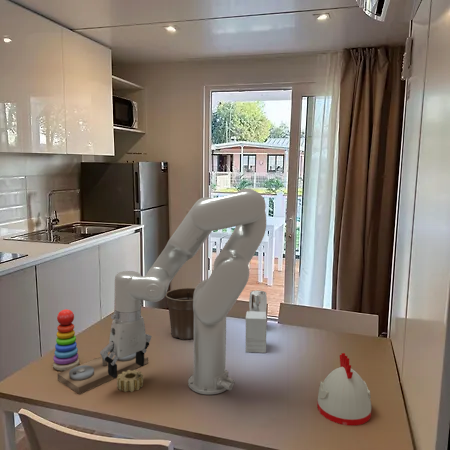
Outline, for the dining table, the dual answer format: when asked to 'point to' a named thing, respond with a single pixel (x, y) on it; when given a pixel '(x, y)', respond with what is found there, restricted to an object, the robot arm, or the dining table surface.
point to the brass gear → (130, 380)
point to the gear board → (95, 372)
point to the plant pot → (181, 312)
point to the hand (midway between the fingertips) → (126, 370)
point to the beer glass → (258, 301)
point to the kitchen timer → (344, 396)
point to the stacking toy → (65, 342)
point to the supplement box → (256, 331)
